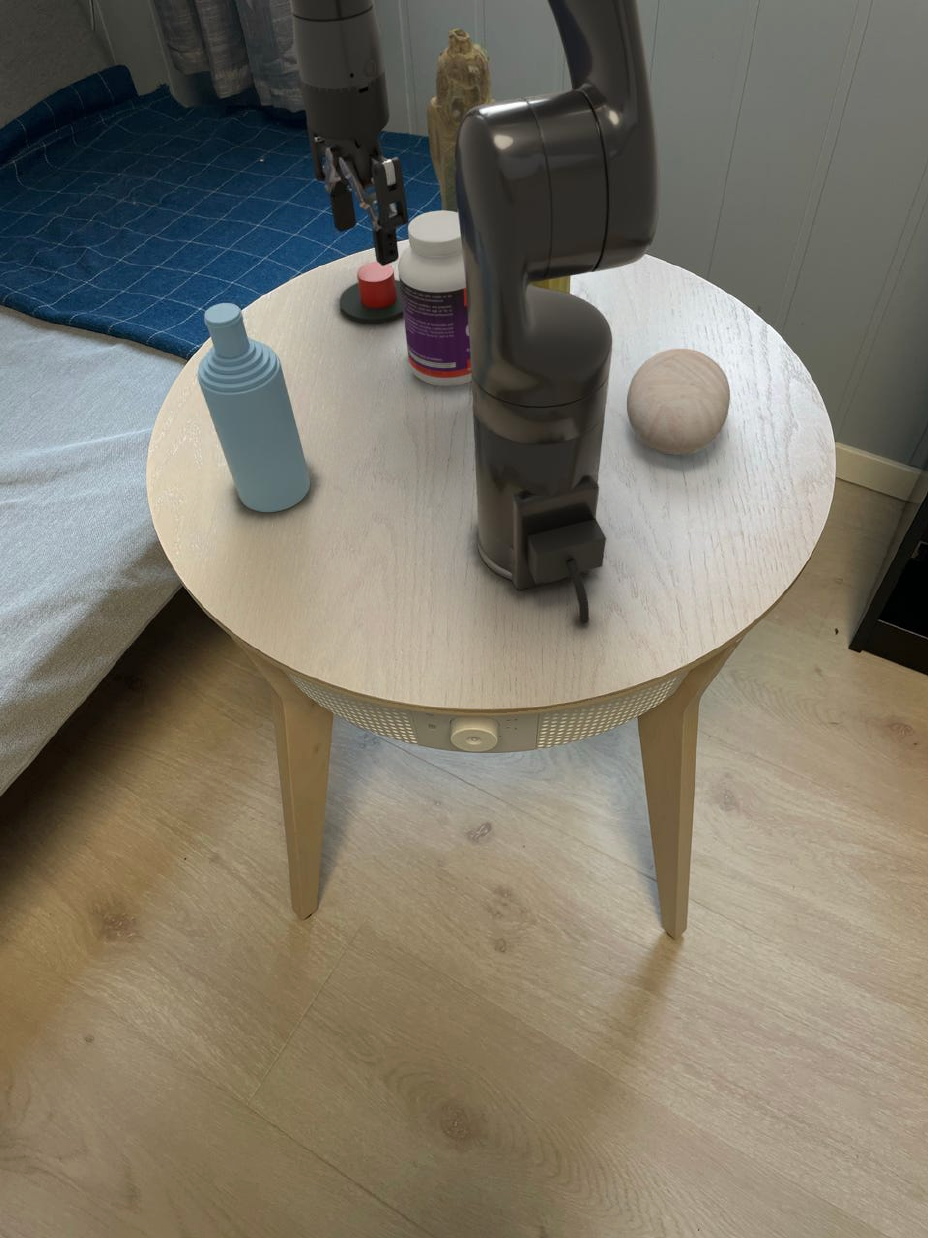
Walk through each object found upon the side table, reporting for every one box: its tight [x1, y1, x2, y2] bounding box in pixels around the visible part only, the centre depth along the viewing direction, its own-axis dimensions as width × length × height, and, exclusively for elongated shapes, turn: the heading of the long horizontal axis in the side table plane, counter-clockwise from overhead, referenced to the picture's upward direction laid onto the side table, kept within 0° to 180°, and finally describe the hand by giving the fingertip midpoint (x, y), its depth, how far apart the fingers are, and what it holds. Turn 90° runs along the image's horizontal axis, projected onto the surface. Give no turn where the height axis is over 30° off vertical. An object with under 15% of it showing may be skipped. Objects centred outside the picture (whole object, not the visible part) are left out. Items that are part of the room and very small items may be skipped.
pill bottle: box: [397, 210, 472, 387], centre depth 80 cm, size 8×8×14 cm
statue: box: [426, 27, 496, 213], centre depth 84 cm, size 7×8×25 cm
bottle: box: [196, 302, 311, 513], centre depth 69 cm, size 6×6×17 cm
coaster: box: [339, 279, 404, 325], centre depth 93 cm, size 8×8×1 cm
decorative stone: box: [626, 348, 731, 455], centre depth 76 cm, size 13×9×5 cm
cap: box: [356, 261, 397, 308], centre depth 91 cm, size 4×4×3 cm
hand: (366, 244), depth 87 cm, fingers open, 8 cm apart
